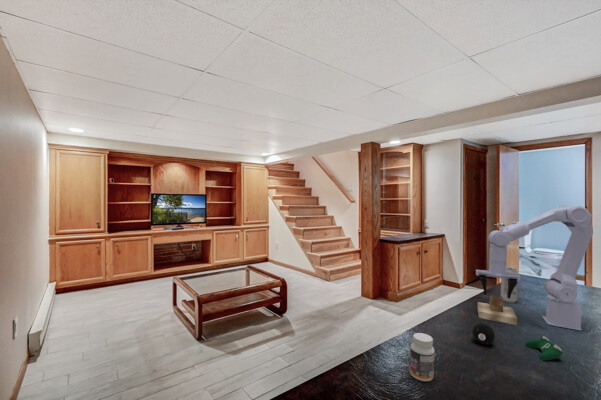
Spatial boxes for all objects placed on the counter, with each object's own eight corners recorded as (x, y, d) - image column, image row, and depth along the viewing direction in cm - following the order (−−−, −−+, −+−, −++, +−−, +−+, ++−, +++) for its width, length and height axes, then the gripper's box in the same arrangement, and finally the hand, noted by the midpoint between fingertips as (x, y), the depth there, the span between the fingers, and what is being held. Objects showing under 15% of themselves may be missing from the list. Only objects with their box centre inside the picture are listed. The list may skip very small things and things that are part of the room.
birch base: (512, 315, 119) (512, 307, 119) (516, 326, 109) (517, 318, 109) (477, 309, 125) (477, 301, 125) (478, 319, 114) (479, 311, 114)
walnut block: (501, 309, 118) (502, 296, 118) (503, 312, 114) (503, 299, 114) (489, 307, 119) (490, 294, 119) (490, 310, 116) (491, 297, 116)
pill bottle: (405, 369, 78) (406, 331, 78) (426, 368, 79) (427, 331, 79) (415, 382, 73) (417, 342, 73) (438, 382, 73) (439, 342, 73)
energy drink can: (515, 300, 136) (517, 267, 136) (517, 304, 131) (518, 270, 130) (500, 297, 139) (501, 265, 139) (500, 301, 134) (502, 268, 133)
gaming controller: (550, 368, 84) (568, 356, 83) (540, 357, 85) (558, 345, 84) (532, 352, 93) (548, 340, 92) (522, 342, 94) (539, 330, 93)
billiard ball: (470, 343, 94) (471, 324, 94) (473, 336, 98) (474, 318, 98) (492, 350, 90) (493, 330, 90) (495, 342, 95) (496, 324, 94)
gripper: (476, 261, 116) (475, 295, 117) (522, 265, 110) (521, 302, 110) (476, 257, 123) (474, 290, 123) (519, 262, 116) (518, 297, 116)
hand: (496, 296), depth 117 cm, fingers open, 7 cm apart
